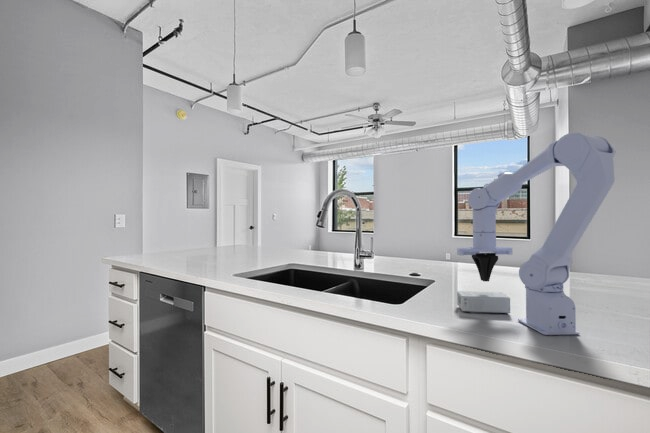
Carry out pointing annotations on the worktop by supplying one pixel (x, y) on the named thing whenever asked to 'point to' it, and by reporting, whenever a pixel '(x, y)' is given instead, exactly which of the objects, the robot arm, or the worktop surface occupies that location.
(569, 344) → the worktop surface
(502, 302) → the skincare box
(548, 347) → the worktop surface
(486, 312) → the mat
